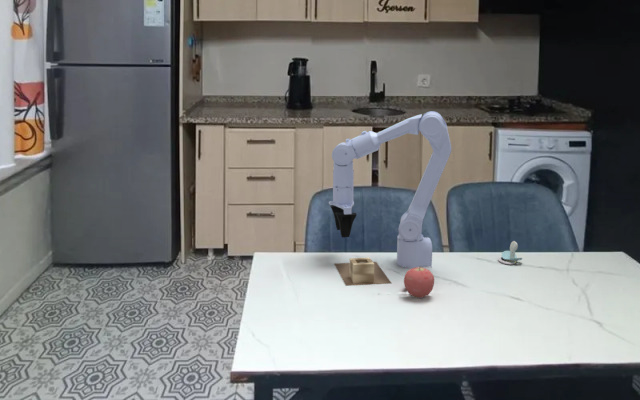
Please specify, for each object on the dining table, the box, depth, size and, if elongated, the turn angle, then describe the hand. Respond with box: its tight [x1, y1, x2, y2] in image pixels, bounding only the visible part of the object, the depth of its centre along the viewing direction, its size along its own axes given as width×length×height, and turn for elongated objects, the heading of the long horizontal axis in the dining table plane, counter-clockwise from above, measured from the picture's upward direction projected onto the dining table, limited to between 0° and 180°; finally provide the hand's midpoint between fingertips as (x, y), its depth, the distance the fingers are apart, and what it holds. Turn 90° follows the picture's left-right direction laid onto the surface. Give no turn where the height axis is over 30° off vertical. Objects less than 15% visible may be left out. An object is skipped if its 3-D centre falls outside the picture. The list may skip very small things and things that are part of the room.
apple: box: [403, 266, 435, 299], centre depth 168 cm, size 7×7×8 cm
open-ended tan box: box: [349, 257, 374, 283], centre depth 176 cm, size 5×5×5 cm
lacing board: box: [333, 261, 392, 287], centre depth 181 cm, size 12×18×6 cm, turn 8°
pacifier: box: [497, 240, 523, 265], centre depth 195 cm, size 7×6×6 cm
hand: (342, 233), depth 191 cm, fingers open, 7 cm apart
